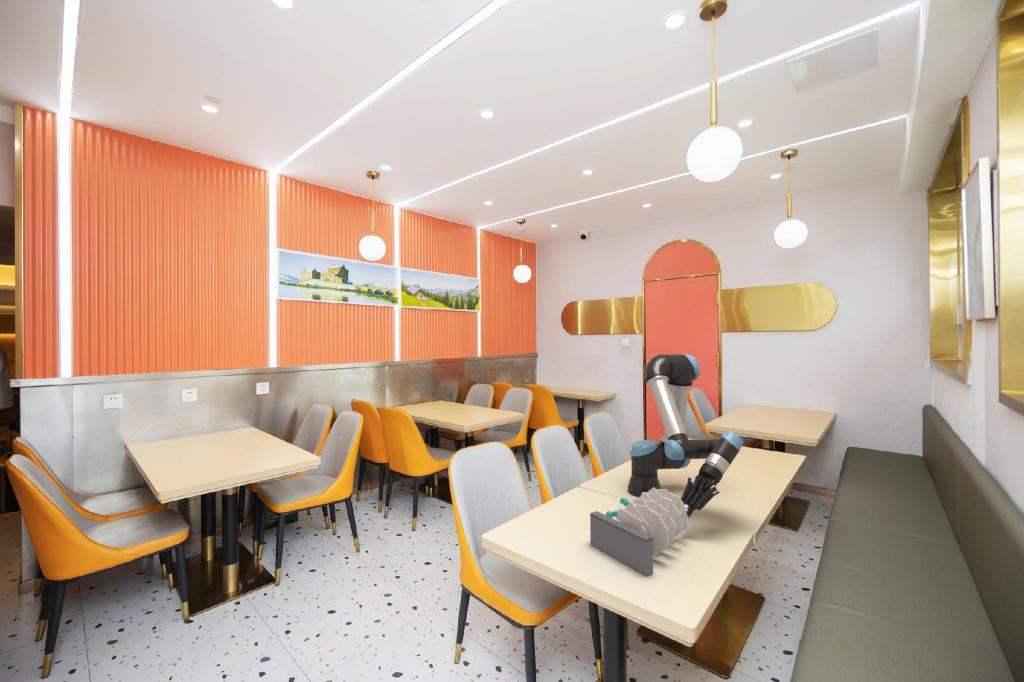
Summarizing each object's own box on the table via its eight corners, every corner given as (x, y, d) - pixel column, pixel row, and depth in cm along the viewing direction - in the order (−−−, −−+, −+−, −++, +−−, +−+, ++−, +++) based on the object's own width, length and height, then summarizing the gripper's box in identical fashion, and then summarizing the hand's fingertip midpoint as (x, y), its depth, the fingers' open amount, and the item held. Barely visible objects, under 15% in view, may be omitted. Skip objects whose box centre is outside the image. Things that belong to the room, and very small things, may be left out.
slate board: (590, 544, 147) (590, 513, 147) (597, 542, 149) (597, 511, 149) (645, 576, 127) (645, 539, 127) (653, 573, 128) (653, 537, 129)
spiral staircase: (683, 546, 152) (657, 573, 132) (637, 518, 162) (607, 539, 143) (700, 500, 149) (676, 521, 129) (652, 474, 159) (624, 490, 140)
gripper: (734, 480, 153) (699, 535, 146) (705, 470, 165) (671, 521, 159) (723, 467, 151) (687, 522, 144) (694, 458, 163) (659, 509, 157)
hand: (679, 522), depth 152 cm, fingers closed
